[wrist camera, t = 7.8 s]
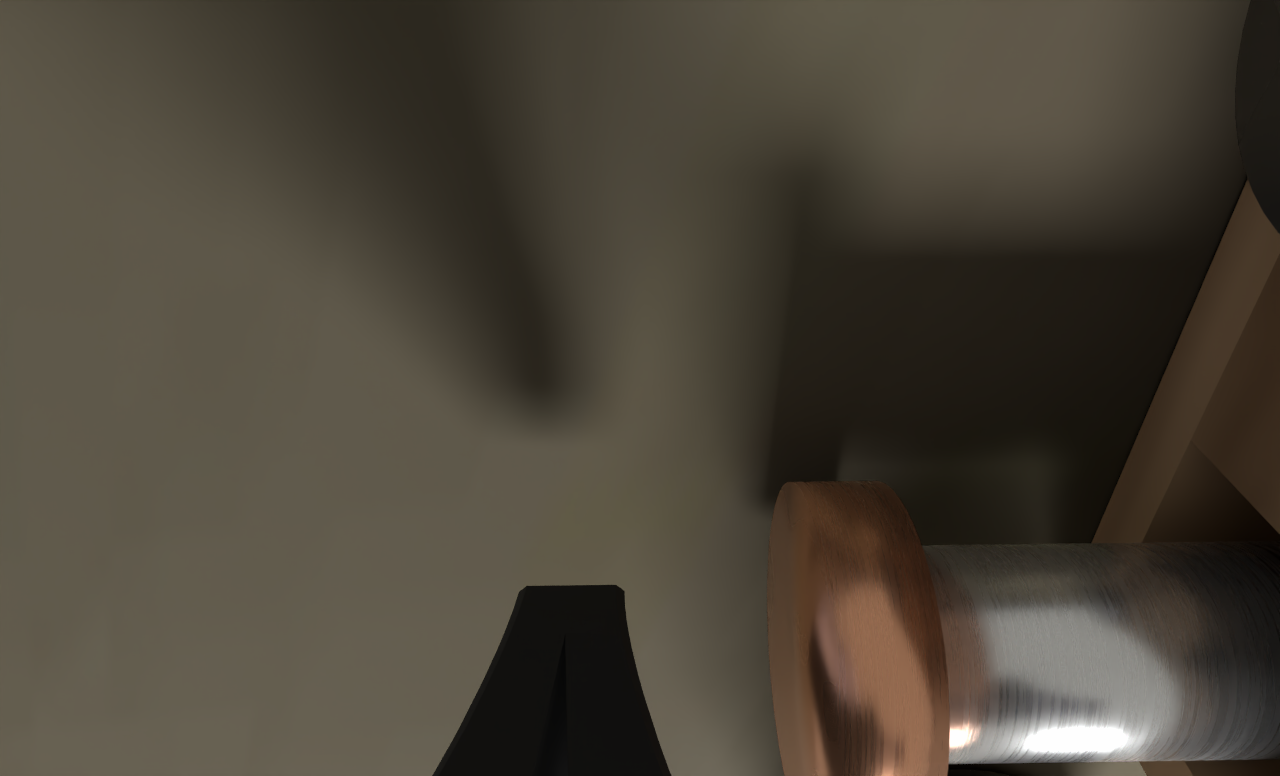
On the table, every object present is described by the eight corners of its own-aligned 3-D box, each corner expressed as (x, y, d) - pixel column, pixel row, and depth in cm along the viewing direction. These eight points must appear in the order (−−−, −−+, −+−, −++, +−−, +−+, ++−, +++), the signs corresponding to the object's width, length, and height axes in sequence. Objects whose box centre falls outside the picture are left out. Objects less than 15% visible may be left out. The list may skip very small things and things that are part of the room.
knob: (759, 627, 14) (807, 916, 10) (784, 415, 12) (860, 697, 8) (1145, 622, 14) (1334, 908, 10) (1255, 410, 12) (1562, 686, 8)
